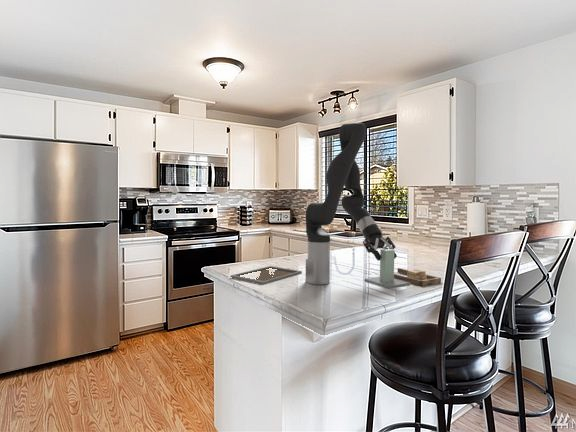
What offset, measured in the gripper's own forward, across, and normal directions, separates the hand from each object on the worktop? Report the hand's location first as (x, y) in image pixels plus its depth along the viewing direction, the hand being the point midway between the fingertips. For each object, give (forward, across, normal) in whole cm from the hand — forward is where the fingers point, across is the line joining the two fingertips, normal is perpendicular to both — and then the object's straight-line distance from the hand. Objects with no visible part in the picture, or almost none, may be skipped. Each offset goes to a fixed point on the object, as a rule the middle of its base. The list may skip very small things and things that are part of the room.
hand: (387, 258), depth 148 cm
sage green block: (+6, 0, +7) cm, 9 cm away
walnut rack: (+6, +14, +8) cm, 17 cm away
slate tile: (+7, 0, +7) cm, 10 cm away
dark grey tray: (-18, -37, +33) cm, 53 cm away
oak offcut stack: (+10, +14, +5) cm, 18 cm away
